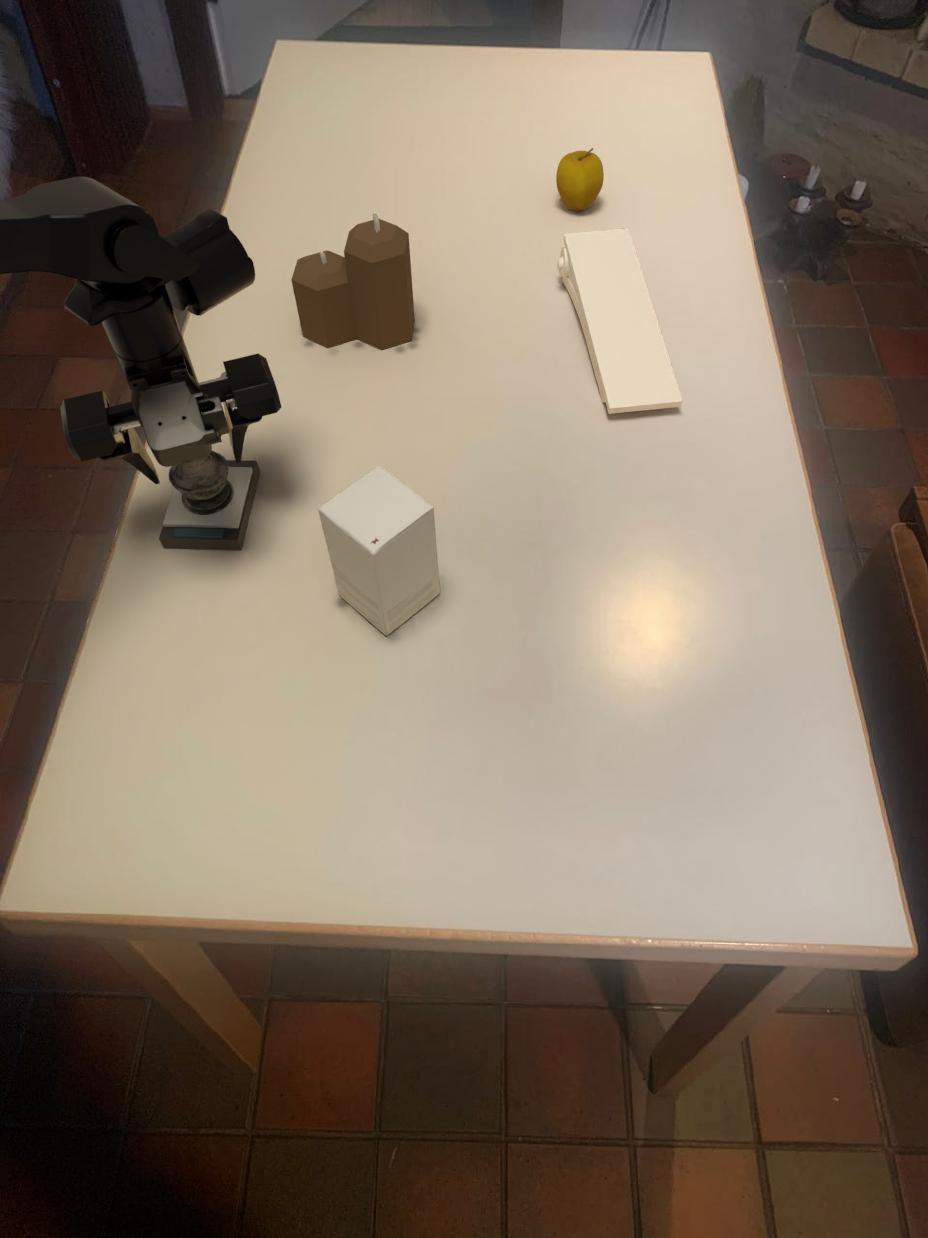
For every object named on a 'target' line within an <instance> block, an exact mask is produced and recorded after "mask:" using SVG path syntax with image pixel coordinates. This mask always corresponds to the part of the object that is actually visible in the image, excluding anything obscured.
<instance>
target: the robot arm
mask: <svg viewBox="0 0 928 1238" xmlns="http://www.w3.org/2000/svg"><path fill="white" fill-rule="evenodd" d="M28 272H30V273H31V272H41V273H51V274H56V275H60V276H64V277H68V278H72V279H75V280H74V286H73V288H72V290H70V292H69V293H68V294H67V296H66V298H65V300H64V302H63V306H64V308H65V310H67V311H68V312H69V313H71V314H73V315H74V316H76V317H77V318H78V319H80V320H81V321H83V322H84V323H86V324H87V325H89V326H90V327H96V326H97V325H99V324H101V326H102V327H103V329H104V332H105V334H106V336H107V339H108V342H109V343H110V346H111V348H112V349H113V353H114V355H115V357H116V359H117V362H118V364H119V366H120V368H121V372H122V373H123V375H124V378H125V381H126V382H127V383H126V384H127V385H128V388H129V389H130V401H127V402H124V403H120V404H115V405H111V406H110V401H109V398H108V396H107V394H106V392H105V391H104V390H98V391H93V392H90V393H86V394H82V395H78V396H72V397H69V398H65V399H63V400H62V403H61V405H60V407H59V409H60V415H61V422H62V429H63V436H64V440H65V442H66V445H67V447H68V449H69V451H70V453H71V454H72V456H73V458H74V460H76V461H79V462H87V461H91V460H94V459H101V460H103V461H110V460H114V459H121V460H123V461H125V462H127V463H128V464H129V465H131V466H133V467H134V468H135V469H136V470H138V471H139V472H140V473H141V474H142V475H143V476H145V477H146V478H147V479H148V480H150V481H151V482H152V483H153V484H155V485H160V483H161V481H160V477H159V475H158V472H157V469H156V467H155V464H154V462H153V460H152V458H151V457H150V455H149V453H148V450H147V449H146V448H145V445H144V443H143V442H142V440H141V439H140V436H139V434H138V433H137V431H136V429H135V428H138V427H141V428H142V429H143V432H144V437H145V439H146V443H147V445H148V447H149V450H150V451H151V453H152V455H153V457H154V458H155V460H156V462H157V463H158V465H160V466H162V467H164V468H171V466H175V465H176V464H178V463H182V462H186V461H190V460H193V459H202V458H205V457H207V456H208V455H209V454H210V453H211V451H213V445H215V444H218V443H223V441H222V437H223V436H224V435H228V437H229V442H230V446H231V450H232V453H233V456H234V460H236V463H240V462H241V460H242V458H243V457H242V456H243V451H244V442H245V438H246V434H247V430H248V428H249V426H251V425H252V424H256V423H260V421H262V420H263V417H266V416H269V415H273V414H277V413H278V412H280V410H281V409H282V403H281V399H280V395H279V392H278V391H279V390H278V388H277V385H276V381H275V380H274V379H275V378H274V376H273V374H272V371H271V367H270V365H269V363H268V359H267V358H266V357H265V356H264V355H262V354H261V353H253V354H250V355H246V356H242V357H237V358H233V359H229V360H225V361H222V364H223V367H224V371H223V372H222V373H221V374H220V376H219V377H217V378H212V379H208V380H204V381H199V380H198V377H197V374H196V371H195V368H194V365H193V363H192V359H191V357H190V354H189V351H188V347H187V345H186V342H185V339H184V337H183V334H182V331H181V327H180V325H179V322H178V319H177V316H176V313H175V311H174V308H176V309H177V310H179V311H182V312H184V311H186V310H187V312H189V313H190V314H192V315H194V316H202V315H204V314H206V313H207V312H209V311H211V310H212V309H214V308H216V307H217V306H219V305H221V304H223V303H224V302H226V301H228V300H229V299H231V298H232V297H234V296H236V295H237V294H239V293H241V292H242V291H244V290H246V289H247V288H248V287H250V286H252V285H253V284H254V282H255V280H256V269H255V265H254V262H253V259H252V258H251V257H250V256H249V254H248V252H247V250H246V248H245V247H244V245H243V243H242V241H241V240H240V239H239V237H238V236H237V235H236V234H235V233H234V231H232V230H231V227H230V225H229V221H228V217H227V216H225V215H223V214H222V213H219V212H217V211H216V210H214V209H212V208H208V209H206V210H204V211H202V212H201V213H199V214H197V215H196V217H195V218H193V219H192V220H190V221H189V222H187V223H186V224H183V225H182V226H179V227H178V228H176V229H174V230H172V231H171V232H168V233H167V234H165V235H164V234H162V233H160V232H159V227H158V226H157V224H156V221H155V218H153V216H152V215H151V214H150V213H149V212H148V210H147V209H145V208H144V207H143V206H140V205H139V204H137V203H135V202H134V201H132V200H131V199H129V198H128V197H125V196H123V195H122V194H121V193H119V192H117V191H115V190H113V189H111V187H108V186H107V185H105V184H103V183H101V181H100V182H99V181H98V180H96V179H94V178H92V177H87V176H74V177H68V178H65V179H60V180H59V179H58V180H54V181H51V182H45V183H40V184H37V185H36V186H34V187H32V188H31V189H29V190H28V191H26V192H25V193H23V194H21V195H19V196H15V197H10V198H5V199H0V275H5V274H6V275H7V274H17V273H28Z"/></svg>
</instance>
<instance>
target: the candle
mask: <svg viewBox="0 0 928 1238" xmlns="http://www.w3.org/2000/svg"><path fill="white" fill-rule="evenodd" d="M290 281H291V285H292V290H293V295H294V300H295V305H296V309H297V314H298V319H299V323H300V328H301V334H302V337H303V338H305V339H307V340H309V341H311V342H314V343H316V344H318V345H320V346H323V347H325V348H326V349H330V348H332V347H336V346H339V345H343V344H346V343H348V342H352V341H355V340H359V341H360V342H363V343H365V344H367V345H370V346H371V347H373V348H376V349H379V350H381V351H383V350H386V349H390V348H393V347H396V346H399V345H402V344H405V343H409V342H411V341H412V340H413V333H414V327H415V322H416V321H415V320H416V319H415V303H414V302H415V301H414V289H413V276H412V262H411V248H410V235H409V232H407V231H406V230H405V229H403V228H402V227H400V226H398V225H397V224H394V223H391V222H389V221H386V220H384V219H381V218H379V215H378V214H377V212H373V213H372V219H371V220H367V221H363V222H360V223H357V224H355V226H354V227H352V228H351V229H350V230H348V234H347V238H346V242H345V246H344V250H343V256H342V255H340V254H338V253H335V252H333V251H330V250H323V251H322V250H319V252H316V253H312V254H309V255H305V256H302V257H300V258H298V259H297V260H296V263H295V266H294V269H293V273H292V276H291V279H290Z"/></svg>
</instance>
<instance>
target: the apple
mask: <svg viewBox="0 0 928 1238" xmlns="http://www.w3.org/2000/svg"><path fill="white" fill-rule="evenodd" d="M592 151H594V147H592V148H591V149H589V150H588V151H587V150H576V151H575V150H574V151H571V152H569V153H567V154H565V155H564V156H562V158H561V159H560V161H559V163H558V166H557V169H556V175H555V178H556V179H555V182H556V188H557V193H558V195H559V197H560V200H561V201H562V203H563V204H564V205H565V206H566V208H567V209H568V210H570V211H584V210H587V209H588V208H590V207H592V206H593V205H594V204H595V202H596V200H597V198H598V196H599V195H600V193H601V191H602V188H603V185H604V166H603V163H602V160H601V158H600V157H599V156H598V155H597V154H596V153H594V152H592Z"/></svg>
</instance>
